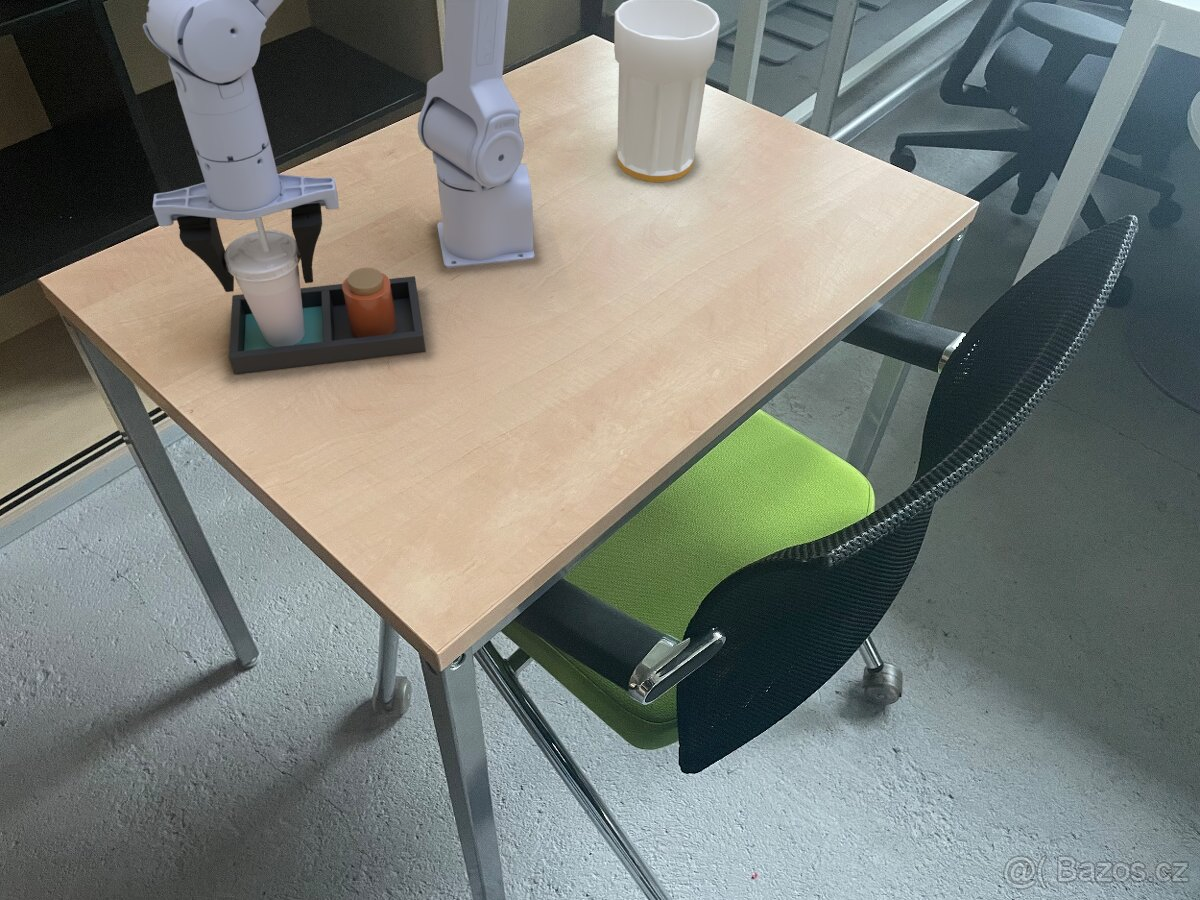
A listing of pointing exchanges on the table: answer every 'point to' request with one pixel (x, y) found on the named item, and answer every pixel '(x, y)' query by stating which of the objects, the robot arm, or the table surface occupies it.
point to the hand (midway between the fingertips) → (270, 280)
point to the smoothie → (269, 282)
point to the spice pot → (369, 303)
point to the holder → (325, 332)
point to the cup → (661, 83)
